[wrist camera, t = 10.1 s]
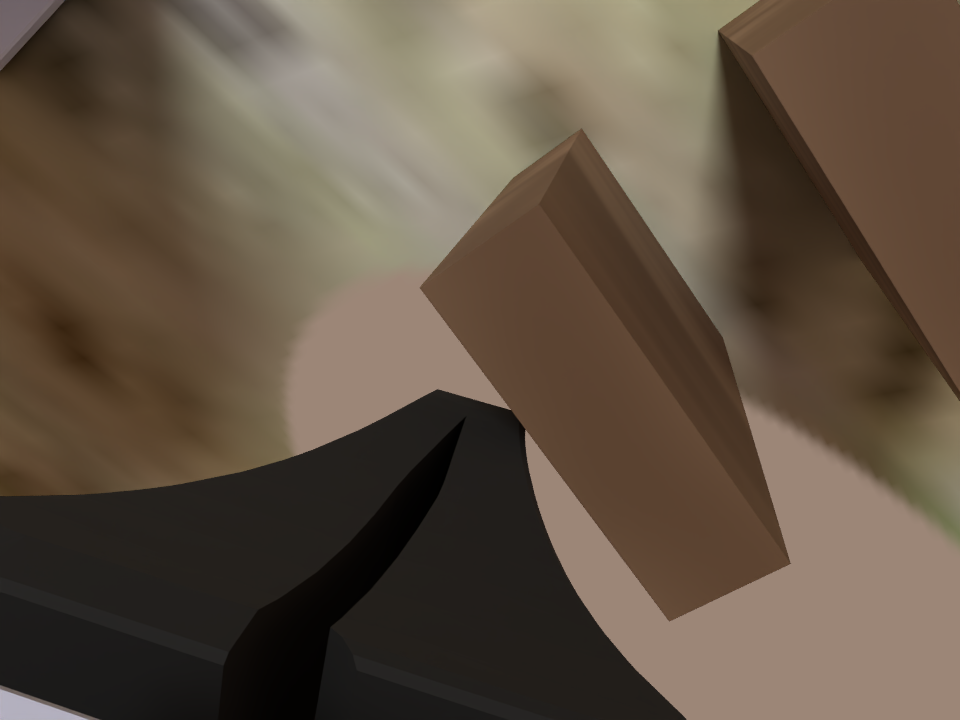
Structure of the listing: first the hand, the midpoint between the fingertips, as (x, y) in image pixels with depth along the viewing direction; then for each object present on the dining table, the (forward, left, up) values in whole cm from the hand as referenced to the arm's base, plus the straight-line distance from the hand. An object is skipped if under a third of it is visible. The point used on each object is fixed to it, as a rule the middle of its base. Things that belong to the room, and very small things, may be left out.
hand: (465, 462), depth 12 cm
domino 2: (0, +7, -6) cm, 9 cm away
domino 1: (0, +2, -6) cm, 7 cm away
